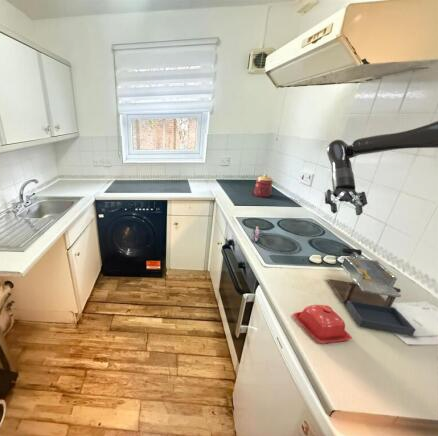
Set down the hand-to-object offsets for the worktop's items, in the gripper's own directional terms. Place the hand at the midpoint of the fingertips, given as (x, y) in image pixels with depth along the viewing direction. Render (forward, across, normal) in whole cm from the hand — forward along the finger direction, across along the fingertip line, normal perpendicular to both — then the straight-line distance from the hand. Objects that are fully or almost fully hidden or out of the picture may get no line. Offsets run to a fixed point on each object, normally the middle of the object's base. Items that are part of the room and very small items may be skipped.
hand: (346, 213), depth 99 cm
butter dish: (+48, -19, -15) cm, 54 cm away
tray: (+42, 0, -9) cm, 42 cm away
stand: (+33, 0, 0) cm, 33 cm away
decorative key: (+4, -29, +30) cm, 42 cm away
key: (+27, 0, -7) cm, 28 cm away
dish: (+26, 0, -5) cm, 27 cm away
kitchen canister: (-54, -14, +87) cm, 104 cm away
